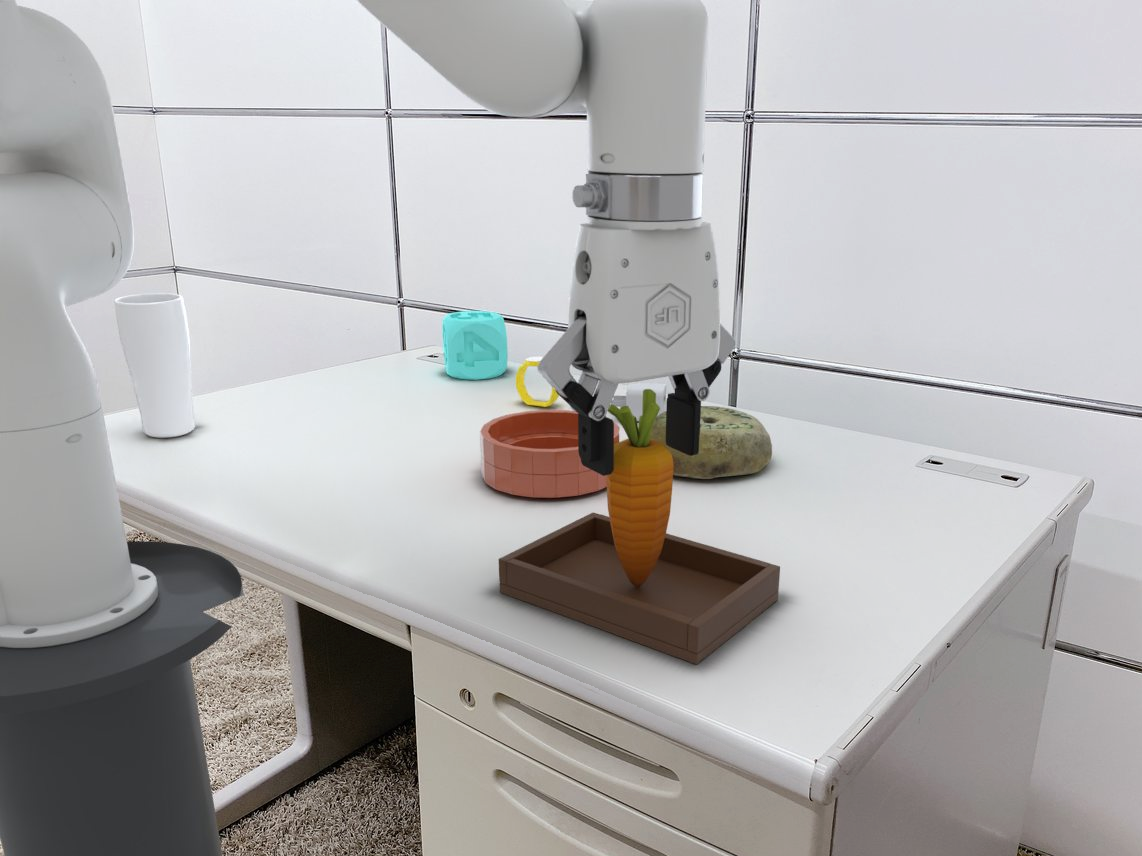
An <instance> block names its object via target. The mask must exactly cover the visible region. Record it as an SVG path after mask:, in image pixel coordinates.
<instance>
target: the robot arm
mask: <svg viewBox="0 0 1142 856" xmlns="http://www.w3.org/2000/svg"><path fill="white" fill-rule="evenodd" d="M356 2H357V3H358V4H359V5H360V6H362V7H363V8H364V9H365V10H366V11H367V12H368V13H369V14H370V15H372V16H373V18H374V19H376V20H377V21H378V22H379V23H380V24H381V25H382V26H383V27H385V29H387V30H388V31H389V32H390V33H392V34H393V35H394V36H395V37H396V38H397V39H398V40H400V41H401V42H402V44H404V45H405V46H406V47H407V48H408V49H410V50H411V51H412V52H413V53H414V54H415V55H417V57H419V58H420V59H421V60H423V61H424V63H426V64H427V65H428V66H430V68H431V69H432V70H434V71H435V72H436V73H437V74H438V75H440V77H442V78H443V79H444V80H445V81H446V82H448V83H449V84H450V85H451V86H452V87H453V88H455V89H456V90H457V91H458V92H460V94H461V95H463V96H464V97H466V98H467V99H469V101H471V102H472V103H474V104H475V105H477V106H479V107H480V108H482V109H484V110H486V111H487V112H491V113H493V114H496V115H500V116H505V117H513V118H514V117H517V118H526V119H529V118H543V117H550V116H557V115H564V114H570V113H579V112H586V170H587V172H586V173H585V183H584V184H583V185H578V184H577V185H575V186H574V187H573V189H572V192H571V193H572V195H571V197H572V203H573V205H574V206H575V207H576V208H585V215H586V216H587V218H586V219H587V222H585V223H580V224H579V229H578V233H577V236H576V241H575V247H574V253H573V259H572V266H571V275H570V285H569V296H568V297H569V298H568V313H567V314H568V317H567V318H568V319H567V320H568V321H567V329H566V331H565V332H564V333H563V334H562V335H561V337H559V338H558V340H557V341H556V342H555V343H554V345H552V346H551V348H550V349H549V350H548V351H547V353H546V354H545V355H544V356H542V357H543V358H542V359H541V361H540V362H539V363H538V366H537V371H538V373H539V374H540V376H542V378H543V379H544V380H545V381H546V382H547V383H548V384H549V385H550V386H551V388H552V387H553V388H554V389H555V391H556V393H557V394H558V395H559V396H558V397H560V398H561V399H562V400H563V401H564V402H565V403H567V405H569V407H570V409H571V411H575V412H577V413H578V452H579V456H580V458H581V463H582V465H583V466H585V467H587V468H589V469H591V470H593V471H595V472H597V473H599V474H601V475H603V476H605V475H610V474H611V473H612V472H613V470H614V422H615V421H614V420H613V419H612V418H610V417H607V414H608V409H609V406H610V404H611V401H612V400H613V399H614V398H613V396H615V394H616V391H617V389H618V386H619V384H630V383H638V382H642V381H643V382H644V381H649V380H655V379H660V378H667V377H668V378H669V382H670V384H671V386H672V388H673V390H674V392H670V393H667V397H666V445H667V446H669V447H671V448H673V449H676V450H678V451H680V452H682V453H685V454H687V455H689V456H693V455H697V454H698V453H699V436H700V417H701V406H702V402H705V401H706V400H707V399H708V398H709V396H710V387H711V386H712V384H713V383H714V381H715V380H716V379H717V378H718V376H719V375H720V373H721V371H722V365H723V364H725V363H726V360H727V359H728V357H729V356H730V354H731V353H732V351H733V349H734V348H735V346H736V339H735V338H734V336H733V335H732V334H731V333H730V332H729V331H728V330H727V329H726V328H725V327H724V326H723V324H722V323H721V295H720V293H721V292H720V276H719V265H718V255H717V249H716V248H717V247H716V243H715V238H714V232H713V228H712V224H711V223H710V222H706V221H703V220H702V219H703V217H702V216H703V215H702V214H703V192H704V191H703V190H704V188H703V187H704V168H705V167H704V165H705V164H704V163H705V159H704V158H705V157H704V156H705V137H706V136H705V135H706V134H705V133H706V108H707V107H706V103H707V79H708V78H707V77H708V55H709V53H708V52H709V51H708V50H709V49H708V48H709V16H708V11H707V9H706V7H705V4H704V3H703V1H702V0H356ZM118 133H119V132H118V128H117V121H116V116H115V111H114V107H113V101H112V98H111V93H110V89H109V86H108V84H107V81H106V77H105V75H104V73H103V71H102V68H101V67H100V65H99V63H98V61H97V59H96V57H95V56H94V54H93V52H91V50H90V48H89V47H88V45H87V44H86V43H85V42H84V40H82V39H81V37H79V35H78V34H76V33H75V32H74V31H73V30H72V29H71V28H70V27H69V26H67V25H66V24H65V23H63V22H61V21H60V20H59V19H57V18H55V17H53V16H51V15H48V14H47V13H45V12H42V11H40V10H37V9H34V8H30V7H27V6H26V7H25V6H22V5H18V4H17V1H16V0H0V647H5V648H40V647H50V646H57V645H62V644H68V643H73V642H77V641H81V640H85V639H89V638H92V637H95V636H98V635H101V634H104V633H107V632H109V631H112V630H114V629H116V628H119V627H121V626H123V625H125V624H127V623H129V622H130V621H132V620H134V619H136V618H137V617H139V616H140V615H141V614H143V613H144V612H146V611H147V610H148V609H149V607H150V606H151V605H152V604H153V603H154V602H155V600H156V598H157V597H158V585H157V580H156V577H155V576H154V574H153V573H152V572H151V571H149V570H148V569H146V568H144V567H142V566H139V565H136V564H132V563H131V562H130V557H129V551H128V546H127V542H128V541H127V534H126V530H125V524H124V519H123V514H122V508H121V502H120V497H119V492H118V487H117V481H116V475H115V469H114V465H113V459H112V454H111V448H110V442H109V438H108V437H109V436H108V432H107V431H108V430H107V427H106V426H107V425H106V421H105V415H104V410H103V405H102V404H103V403H102V399H101V394H100V388H99V384H98V379H97V375H96V372H95V369H94V365H93V362H92V360H91V357H90V355H89V352H88V350H87V348H86V346H85V345H84V343H83V340H82V338H81V337H80V335H79V334H78V332H77V330H76V327H75V326H74V324H73V323H72V321H71V319H70V316H69V314H68V313H67V309H66V308H67V307H69V306H72V305H76V304H78V303H81V302H84V301H88V300H90V299H93V298H95V297H99V296H101V295H103V294H104V293H107V292H108V291H110V290H111V289H113V288H114V287H116V286H117V285H118V284H119V283H120V282H121V281H122V280H123V278H124V277H125V276H126V274H127V272H128V270H129V269H130V267H131V264H132V261H133V256H134V250H135V228H134V227H135V226H134V218H133V211H132V207H131V206H132V205H131V201H130V200H131V199H130V194H129V190H128V183H127V177H126V172H125V167H124V161H123V155H122V151H121V145H120V139H119V138H120V137H119V134H118ZM571 367H573V368H574V369H576V370H578V371H581V374H580V376H579V379H578V381H577V380H576V379H575V378H574V376H573V375H572V374H571V371H570V368H571ZM613 421H614V422H613Z"/></svg>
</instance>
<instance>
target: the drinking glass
mask: <svg viewBox="0 0 1142 856" xmlns="http://www.w3.org/2000/svg"><path fill="white" fill-rule="evenodd" d="M113 302H114V309H115V319H116V325H117V330H118V334H119V339H120V344H121V348H122V352H123V355H124V359H125V363H126V366H127V370H128V374H129V378H130V381H131V385H132V388H133V392H134V396H135V399H136V400H135V401H136V403H137V407H138V411H139V415H140V419H141V420H140V421H141V427H142V430H143V432H144V434H145V435H147V436H149V437H152V438H156V439H157V438H161V439H165V438H166V439H167V438H175V437H181V436H184V435H187V434H189V433H191V432H193V431H194V429H195V427H196V418H195V412H194V399H193V383H192V381H193V380H192V364H191V363H192V362H191V346H190V332H189V325H188V318H187V311H186V307H185V303H184V297H183V296H182V295H180V294H177V293H170V292H169V293H168V292H151V293H150V292H149V293H138V294H129V295H124V296H120V297H117V298H115V300H114V301H113Z"/></svg>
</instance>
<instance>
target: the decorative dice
mask: <svg viewBox="0 0 1142 856" xmlns="http://www.w3.org/2000/svg"><path fill="white" fill-rule="evenodd" d="M441 324H442V325H441V328H442V329H441V332H442V333H441V334H442V348H443V349H442V351H443V359H444V360H443V361H444V366H445V371H446V374H447V375H448V376H449V377H451V378H455V379H459V380H468V381H469V380H470V381H473V380H474V381H476V380H489V379H495V378H497V377H500V376H502V375H504V373H505V372H506V370H507V369H508V357H509V356H508V337H507V328H506V323H505V319H504V317H503V315H502V314H500V313H498V312H494V311H488V310H462V311H455V312H450V313H448V314H446V315H445V316H444V317H443V318H442V323H441Z"/></svg>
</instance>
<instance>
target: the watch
mask: <svg viewBox="0 0 1142 856" xmlns="http://www.w3.org/2000/svg"><path fill="white" fill-rule="evenodd" d="M543 357H544V356H530V357H526V358H525V359H524V363H522V364H521V365H520V366H519V367H518V370H517V372H516V373H515V387H516V391H517V393H518V396H519V397H520V399H521V400H522V401H523V402H524V403H525V404H526V405H527V406H535V407H542V408H546V407H550V406H552V405H553V404H554V403H555V402H556V401H557V400H558V398H559V397H560V396H559V395H558V394H557V393H556V391H555V389H554V388H553V387H552V386H551V394H550V397H549V399H548V400H546V401H540V400H535V399H533V397H532V396H531V395H530V394H529V393H528V390H527V388H526V385H525V374H526V372H527V369H528V368H529V367H538V363H539V362H540V361H541V359H542V358H543Z"/></svg>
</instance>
